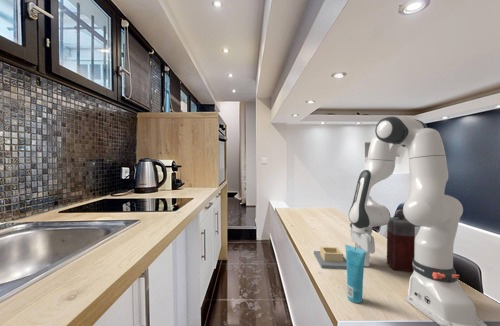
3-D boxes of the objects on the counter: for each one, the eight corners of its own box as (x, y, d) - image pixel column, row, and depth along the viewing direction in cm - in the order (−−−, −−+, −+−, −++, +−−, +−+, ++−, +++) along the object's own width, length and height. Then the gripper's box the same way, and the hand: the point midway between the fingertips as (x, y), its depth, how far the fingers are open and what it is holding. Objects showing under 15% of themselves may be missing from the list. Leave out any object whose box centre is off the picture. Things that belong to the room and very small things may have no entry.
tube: (367, 300, 84) (368, 248, 84) (363, 306, 80) (363, 251, 80) (346, 293, 89) (347, 243, 89) (341, 298, 85) (342, 246, 86)
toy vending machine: (404, 262, 118) (404, 207, 118) (414, 272, 107) (415, 212, 107) (384, 260, 120) (385, 207, 120) (393, 270, 109) (394, 211, 109)
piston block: (369, 266, 112) (369, 245, 112) (358, 266, 112) (358, 245, 112) (365, 262, 117) (365, 242, 117) (354, 261, 117) (355, 242, 117)
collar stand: (351, 269, 109) (351, 257, 109) (321, 268, 110) (321, 256, 110) (339, 254, 127) (339, 244, 127) (313, 253, 128) (313, 243, 128)
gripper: (378, 234, 104) (378, 264, 104) (360, 223, 125) (360, 248, 124) (364, 233, 105) (364, 264, 104) (348, 222, 125) (348, 248, 125)
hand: (362, 255), depth 115 cm, fingers closed on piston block, 5 cm apart
